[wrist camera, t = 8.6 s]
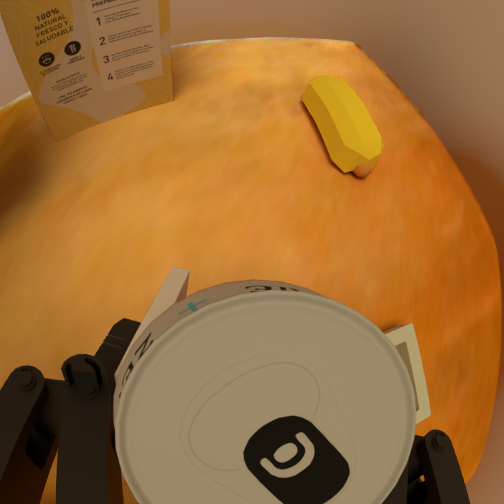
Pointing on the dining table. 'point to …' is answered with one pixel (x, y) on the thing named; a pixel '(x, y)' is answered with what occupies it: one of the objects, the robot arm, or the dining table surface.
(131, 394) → the energy drink can
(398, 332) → the frame
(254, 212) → the dining table surface
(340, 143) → the yellow curved piece
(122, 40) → the pasta box
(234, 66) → the dining table surface
